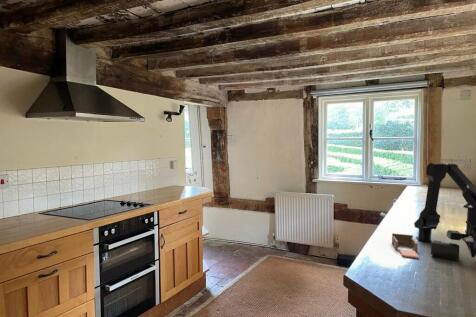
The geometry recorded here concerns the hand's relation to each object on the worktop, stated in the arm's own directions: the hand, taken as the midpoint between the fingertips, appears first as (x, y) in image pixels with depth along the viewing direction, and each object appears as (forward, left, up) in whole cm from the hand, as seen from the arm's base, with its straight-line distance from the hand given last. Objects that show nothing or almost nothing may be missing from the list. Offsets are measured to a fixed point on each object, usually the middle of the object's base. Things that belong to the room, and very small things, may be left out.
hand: (472, 257), depth 138 cm
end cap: (0, -11, -2) cm, 11 cm away
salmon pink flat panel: (-2, -25, -1) cm, 25 cm away
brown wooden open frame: (-8, -25, -2) cm, 26 cm away
